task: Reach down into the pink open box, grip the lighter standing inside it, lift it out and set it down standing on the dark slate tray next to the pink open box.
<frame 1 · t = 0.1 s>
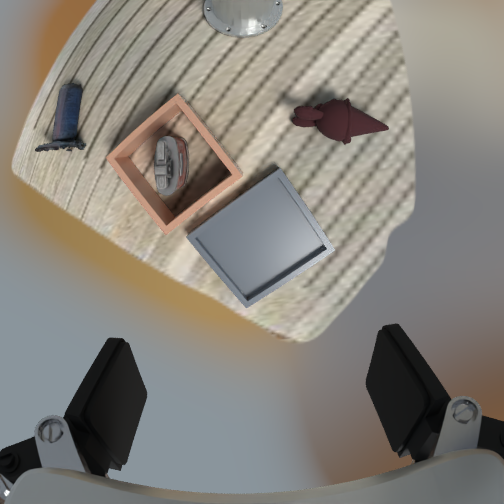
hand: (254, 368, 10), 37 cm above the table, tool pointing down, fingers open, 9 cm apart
icecream: (335, 122, 41), on the table
dark blue piece: (74, 118, 39), on the table
lighter: (179, 162, 43), resting in pink open box
tray: (261, 239, 47), on the table
pink open box: (178, 162, 42), on the table
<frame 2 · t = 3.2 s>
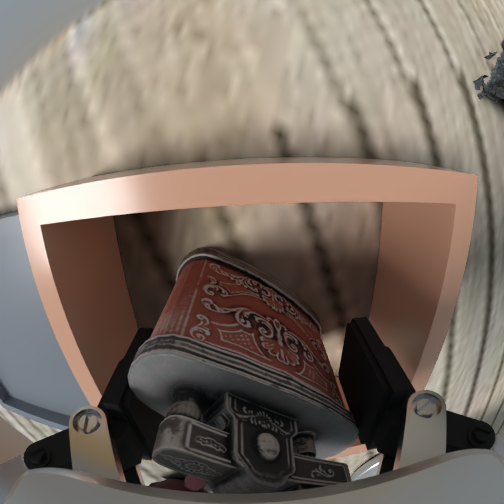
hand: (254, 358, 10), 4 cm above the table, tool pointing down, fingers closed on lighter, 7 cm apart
icecream: (180, 480, 23), on the table
lighter: (252, 300, 15), resting in pink open box, touching gripper
tray: (17, 334, 15), on the table
pink open box: (252, 302, 14), on the table
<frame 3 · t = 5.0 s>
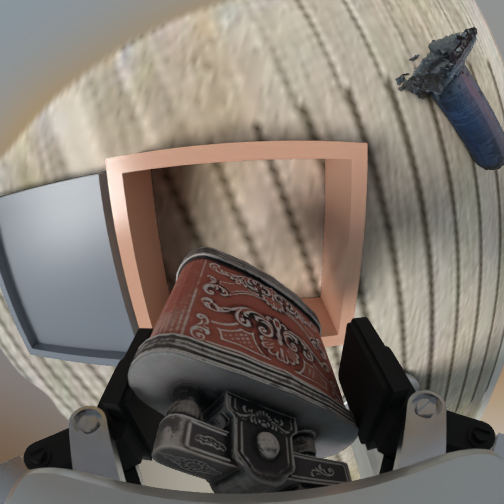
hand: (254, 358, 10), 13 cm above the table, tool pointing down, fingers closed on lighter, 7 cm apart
dark blue piece: (449, 108, 19), on the table
lighter: (252, 299, 15), point 8 cm above the table, touching gripper
tray: (58, 278, 23), on the table
pink open box: (241, 235, 22), on the table
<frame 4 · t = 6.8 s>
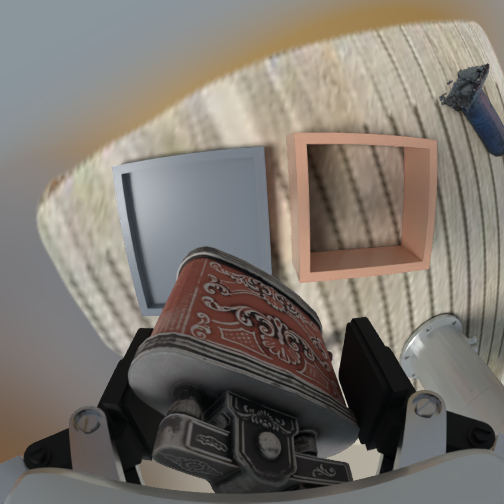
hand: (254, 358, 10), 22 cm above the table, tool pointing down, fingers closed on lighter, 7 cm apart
dark blue piece: (470, 116, 26), on the table
lighter: (252, 299, 15), point 18 cm above the table, touching gripper
tray: (196, 235, 32), on the table
pink open box: (355, 198, 30), on the table
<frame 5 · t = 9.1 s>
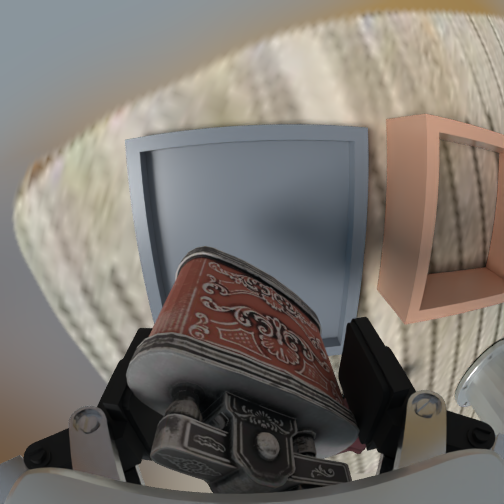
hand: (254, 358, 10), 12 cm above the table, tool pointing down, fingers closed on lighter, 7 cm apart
lighter: (252, 299, 14), point 7 cm above the table, touching gripper
tray: (252, 251, 21), on the table
pink open box: (454, 209, 20), on the table
when the fingers open (6 cm above the table, at t = 10.7 s): lighter drops 1 cm, resting on tray.
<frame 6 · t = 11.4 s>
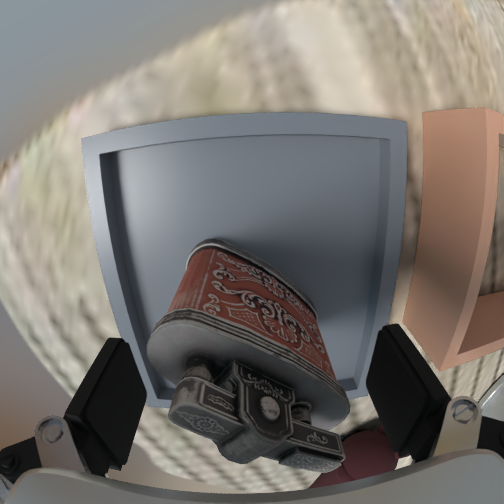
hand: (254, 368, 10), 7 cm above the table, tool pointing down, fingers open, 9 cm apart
icecream: (353, 437, 23), on the table
lighter: (254, 288, 16), point 1 cm above the table, touching tray
tray: (251, 282, 16), on the table
pink open box: (491, 225, 15), on the table
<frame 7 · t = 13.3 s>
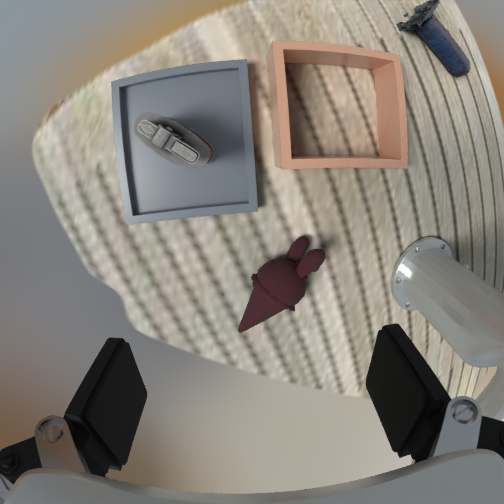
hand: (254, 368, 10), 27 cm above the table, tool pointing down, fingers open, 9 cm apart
icecream: (273, 277, 39), on the table
dark blue piece: (429, 44, 27), on the table
lighter: (184, 141, 31), point 1 cm above the table, touching tray
tray: (183, 141, 31), on the table
pink open box: (331, 108, 31), on the table
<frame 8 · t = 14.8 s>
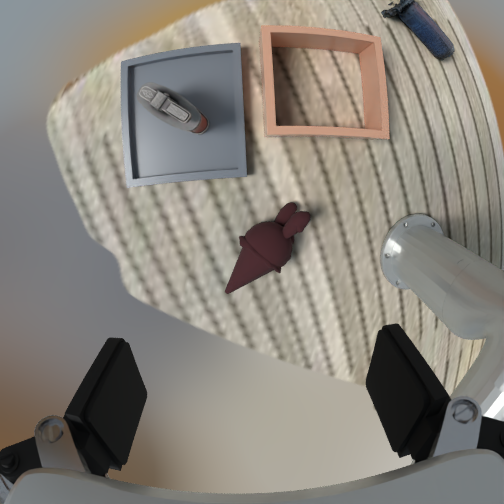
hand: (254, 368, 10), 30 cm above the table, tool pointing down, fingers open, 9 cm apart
icecream: (262, 242, 40), on the table
dark blue piece: (415, 30, 29), on the table
lighter: (182, 113, 33), point 1 cm above the table, touching tray
tray: (182, 113, 34), on the table
pink open box: (318, 87, 33), on the table
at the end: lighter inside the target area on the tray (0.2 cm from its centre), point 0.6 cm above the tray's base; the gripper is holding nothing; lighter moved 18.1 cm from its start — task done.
